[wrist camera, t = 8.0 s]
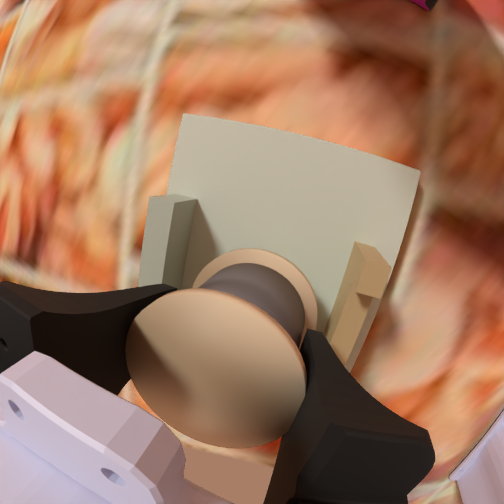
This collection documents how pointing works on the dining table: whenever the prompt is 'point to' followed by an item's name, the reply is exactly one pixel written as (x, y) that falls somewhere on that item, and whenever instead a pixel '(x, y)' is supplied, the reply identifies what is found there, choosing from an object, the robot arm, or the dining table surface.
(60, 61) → the dining table surface
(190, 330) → the spool
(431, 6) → the candy bar box
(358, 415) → the robot arm
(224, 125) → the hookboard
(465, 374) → the dining table surface
